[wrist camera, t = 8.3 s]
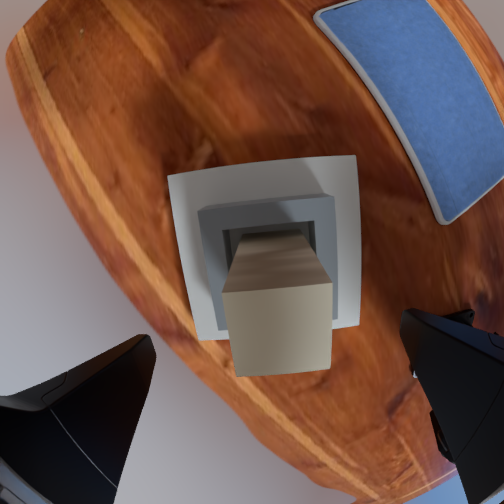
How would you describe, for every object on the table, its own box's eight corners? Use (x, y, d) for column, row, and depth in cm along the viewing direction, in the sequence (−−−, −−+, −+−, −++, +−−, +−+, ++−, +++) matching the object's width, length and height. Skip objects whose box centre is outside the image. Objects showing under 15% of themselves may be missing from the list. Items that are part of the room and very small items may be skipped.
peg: (299, 228, 17) (332, 282, 9) (302, 281, 18) (330, 368, 10) (242, 234, 18) (221, 293, 9) (248, 286, 19) (236, 376, 10)
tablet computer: (306, 19, 15) (308, 10, 14) (410, -10, 13) (415, -16, 11) (435, 227, 19) (443, 231, 18) (511, 164, 17) (519, 165, 15)
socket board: (348, 156, 17) (369, 152, 13) (353, 315, 21) (369, 343, 17) (174, 175, 18) (152, 176, 14) (202, 330, 21) (191, 360, 18)
